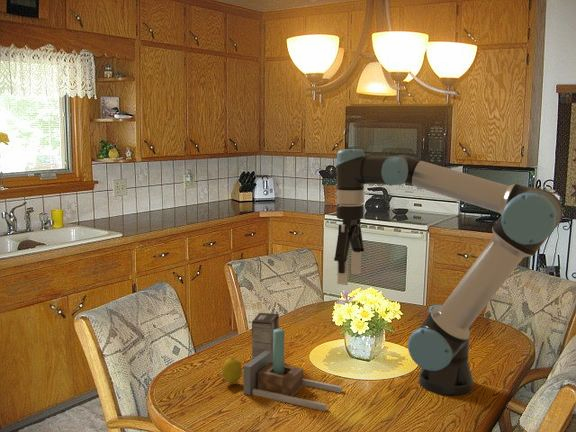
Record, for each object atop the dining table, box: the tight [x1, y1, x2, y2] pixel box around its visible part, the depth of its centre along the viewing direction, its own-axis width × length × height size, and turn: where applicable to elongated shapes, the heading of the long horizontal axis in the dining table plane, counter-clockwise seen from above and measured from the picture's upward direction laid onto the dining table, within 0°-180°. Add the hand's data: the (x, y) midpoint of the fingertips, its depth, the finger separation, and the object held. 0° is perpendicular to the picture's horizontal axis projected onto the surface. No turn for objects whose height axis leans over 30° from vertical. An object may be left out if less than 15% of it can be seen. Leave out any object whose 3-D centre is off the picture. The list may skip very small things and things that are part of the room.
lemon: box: [221, 356, 243, 385], centre depth 174 cm, size 6×6×8 cm
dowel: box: [273, 328, 285, 375], centre depth 167 cm, size 3×3×16 cm
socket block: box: [258, 362, 304, 397], centre depth 169 cm, size 10×8×6 cm
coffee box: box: [251, 312, 280, 360], centre depth 185 cm, size 9×6×16 cm
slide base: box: [243, 349, 343, 412], centre depth 167 cm, size 25×15×9 cm, turn 65°
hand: (349, 278), depth 174 cm, fingers open, 13 cm apart
